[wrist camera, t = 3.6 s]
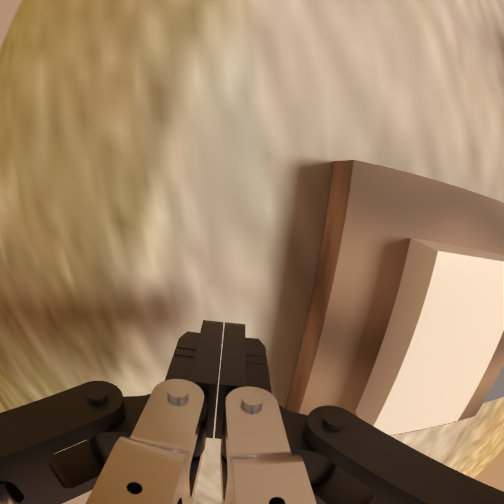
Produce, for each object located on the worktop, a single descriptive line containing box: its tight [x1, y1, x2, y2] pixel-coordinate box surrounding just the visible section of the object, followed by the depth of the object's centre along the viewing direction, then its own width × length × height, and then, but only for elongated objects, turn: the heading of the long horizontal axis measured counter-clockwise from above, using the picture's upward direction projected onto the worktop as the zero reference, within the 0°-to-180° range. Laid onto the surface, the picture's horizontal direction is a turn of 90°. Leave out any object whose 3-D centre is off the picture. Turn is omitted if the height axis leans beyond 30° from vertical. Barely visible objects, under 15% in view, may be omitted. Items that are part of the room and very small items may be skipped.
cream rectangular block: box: [355, 238, 504, 435], centre depth 11 cm, size 9×6×2 cm, turn 173°
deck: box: [285, 160, 504, 436], centre depth 14 cm, size 14×14×2 cm
